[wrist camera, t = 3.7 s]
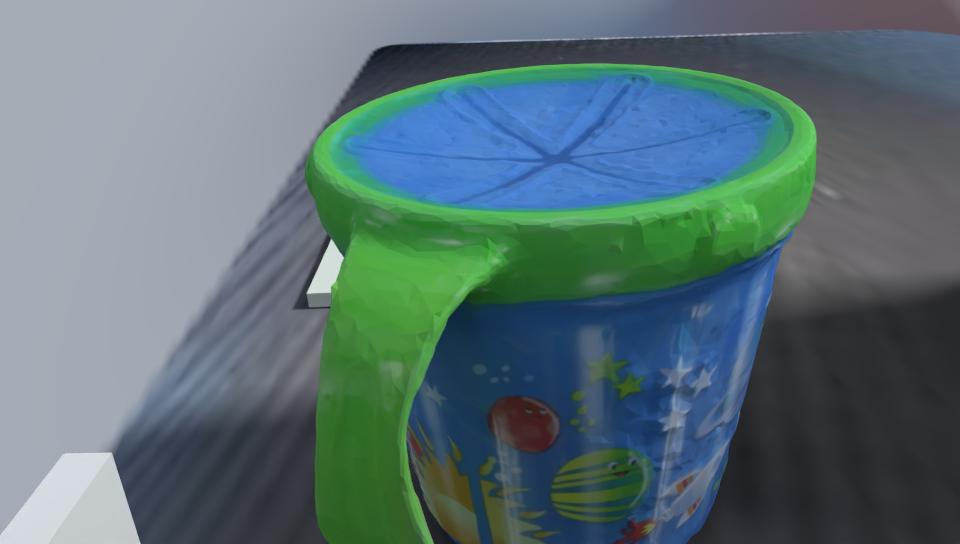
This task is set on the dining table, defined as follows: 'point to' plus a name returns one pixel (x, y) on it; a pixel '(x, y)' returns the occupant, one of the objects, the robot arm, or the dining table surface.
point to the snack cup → (547, 300)
